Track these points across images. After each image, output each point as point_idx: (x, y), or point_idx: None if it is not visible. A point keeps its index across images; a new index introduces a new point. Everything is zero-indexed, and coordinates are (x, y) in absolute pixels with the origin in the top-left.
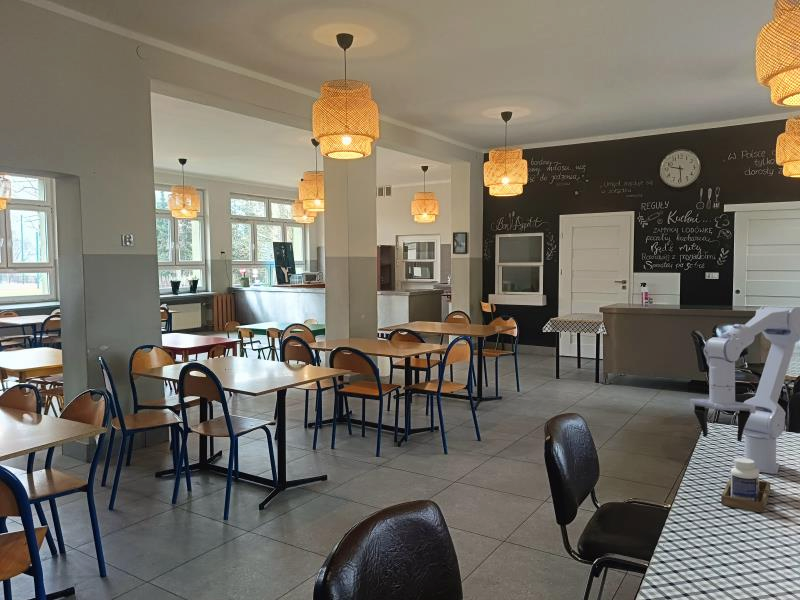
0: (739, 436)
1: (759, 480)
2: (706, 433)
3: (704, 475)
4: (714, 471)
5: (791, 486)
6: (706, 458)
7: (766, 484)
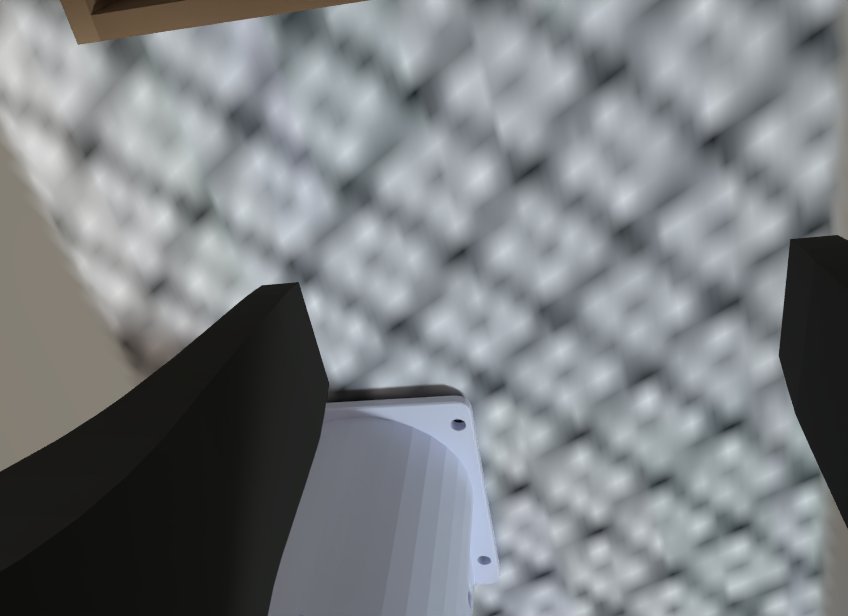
0: (236, 312)
1: (161, 29)
2: (803, 301)
3: (699, 71)
4: (636, 241)
5: (71, 232)
6: (748, 499)
7: (105, 9)
